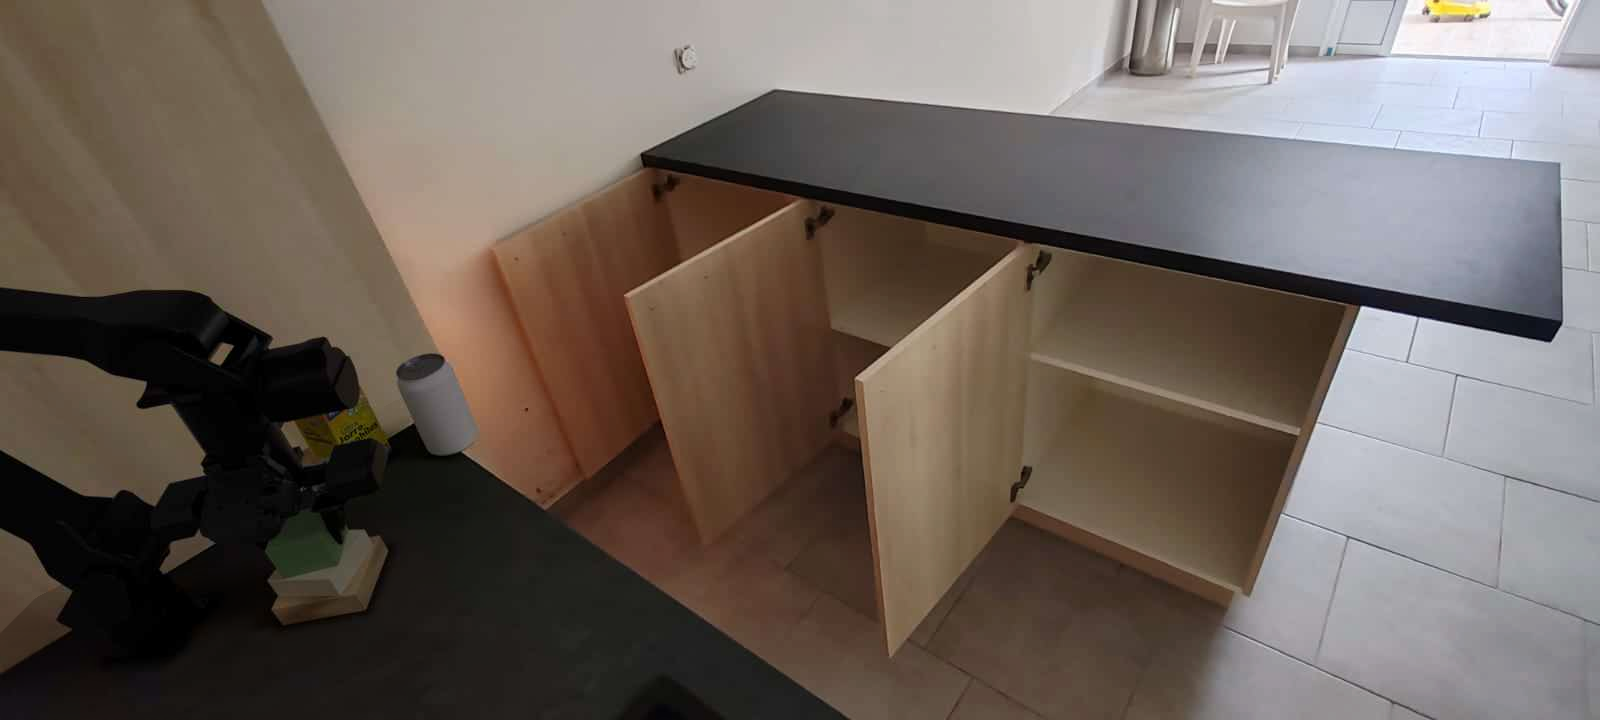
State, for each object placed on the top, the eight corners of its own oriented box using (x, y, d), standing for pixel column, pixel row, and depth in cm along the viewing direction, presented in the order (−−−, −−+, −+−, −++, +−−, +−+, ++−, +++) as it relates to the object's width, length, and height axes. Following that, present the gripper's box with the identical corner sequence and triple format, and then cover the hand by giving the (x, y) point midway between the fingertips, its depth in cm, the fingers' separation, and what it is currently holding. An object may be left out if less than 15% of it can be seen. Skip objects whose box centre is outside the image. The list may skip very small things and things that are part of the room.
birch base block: (282, 625, 74) (270, 609, 73) (312, 564, 81) (302, 548, 79) (365, 610, 75) (355, 594, 74) (388, 550, 82) (379, 535, 80)
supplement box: (359, 483, 91) (321, 413, 85) (323, 475, 93) (283, 406, 87) (395, 452, 96) (361, 383, 90) (360, 444, 98) (324, 377, 92)
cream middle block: (278, 597, 74) (266, 580, 73) (316, 546, 79) (305, 530, 78) (340, 596, 74) (329, 579, 72) (374, 545, 79) (364, 529, 78)
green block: (283, 579, 73) (264, 551, 70) (296, 543, 77) (278, 515, 74) (338, 565, 74) (321, 537, 71) (348, 530, 78) (332, 502, 75)
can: (461, 459, 94) (427, 382, 87) (416, 455, 95) (380, 379, 88) (489, 427, 99) (459, 352, 92) (446, 424, 100) (413, 350, 93)
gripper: (69, 518, 58) (178, 642, 66) (329, 459, 61) (400, 583, 70) (132, 433, 67) (221, 551, 75) (355, 385, 70) (415, 503, 79)
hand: (313, 548), depth 75 cm, fingers closed on green block, 5 cm apart
